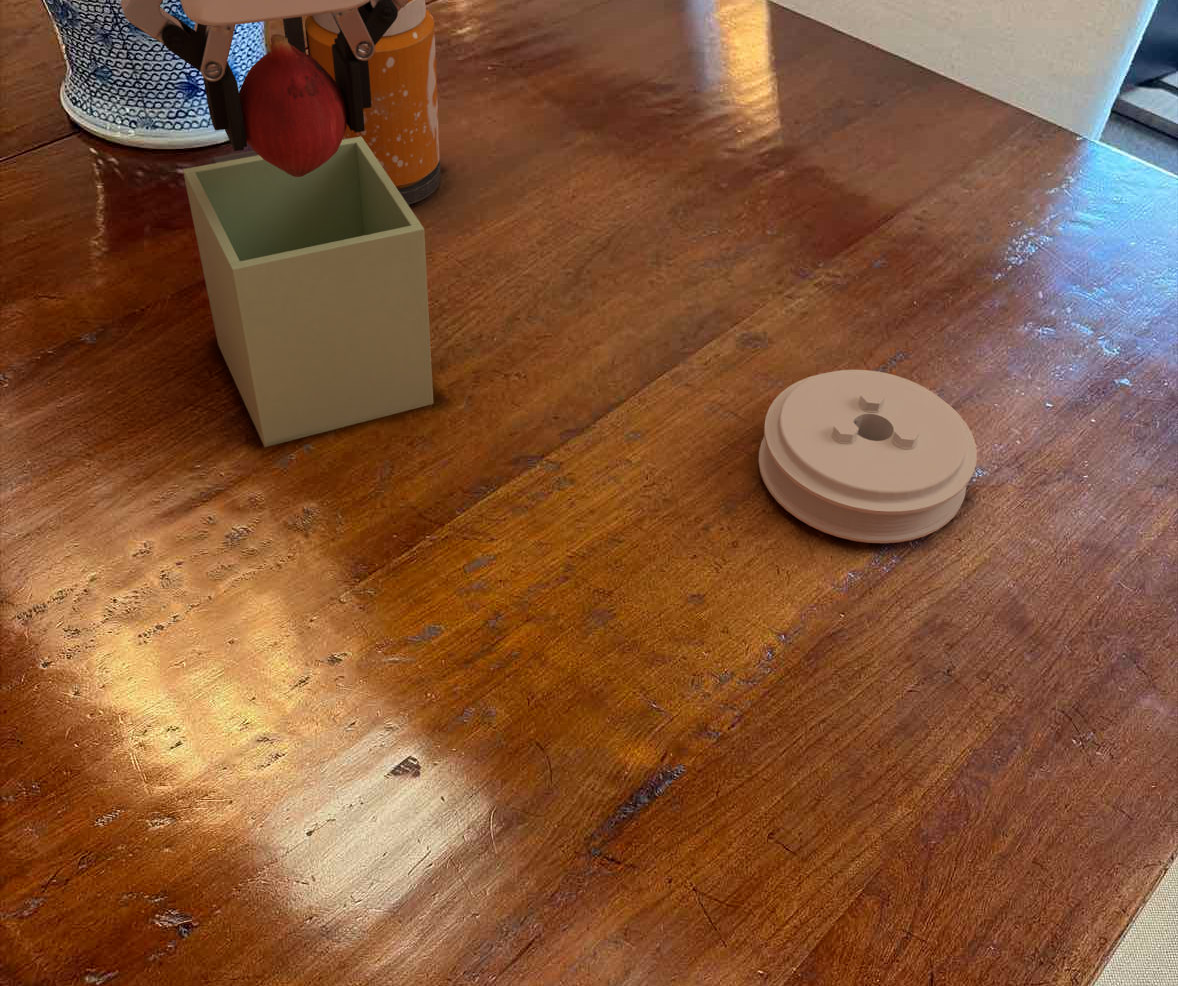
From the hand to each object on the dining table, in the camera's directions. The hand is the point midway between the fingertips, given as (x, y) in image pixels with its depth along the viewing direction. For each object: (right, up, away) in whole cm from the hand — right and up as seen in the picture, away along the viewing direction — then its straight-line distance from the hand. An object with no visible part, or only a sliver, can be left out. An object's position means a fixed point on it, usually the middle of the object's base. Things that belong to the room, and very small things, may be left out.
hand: (293, 126), depth 72 cm
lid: (+33, -19, +9) cm, 39 cm away
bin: (+2, -11, +5) cm, 12 cm away
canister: (-1, +5, +29) cm, 29 cm away
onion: (0, -2, +2) cm, 3 cm away
